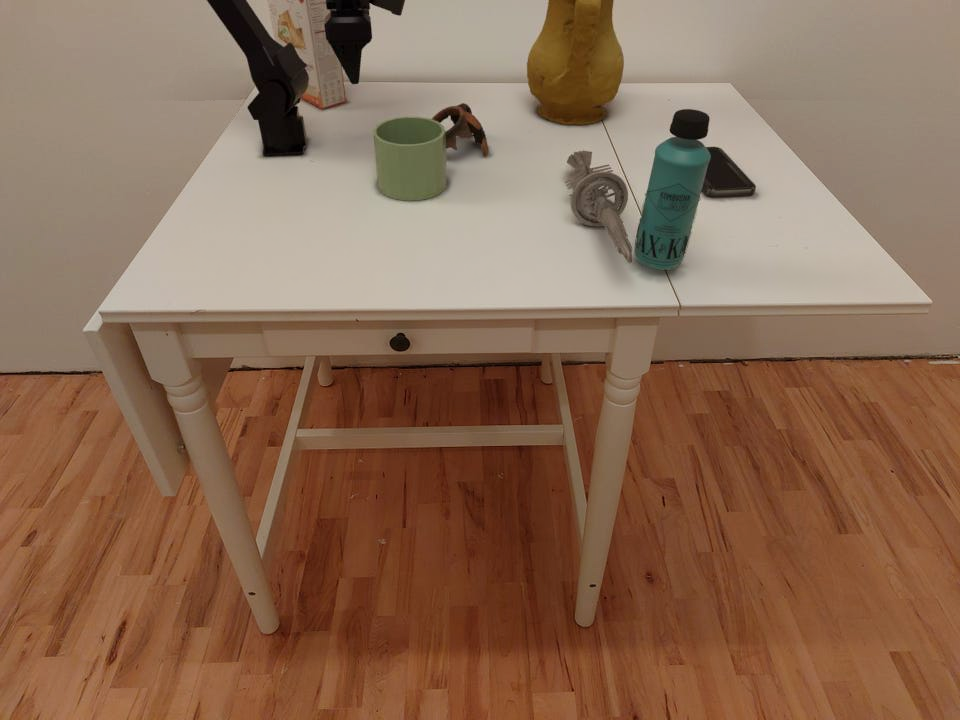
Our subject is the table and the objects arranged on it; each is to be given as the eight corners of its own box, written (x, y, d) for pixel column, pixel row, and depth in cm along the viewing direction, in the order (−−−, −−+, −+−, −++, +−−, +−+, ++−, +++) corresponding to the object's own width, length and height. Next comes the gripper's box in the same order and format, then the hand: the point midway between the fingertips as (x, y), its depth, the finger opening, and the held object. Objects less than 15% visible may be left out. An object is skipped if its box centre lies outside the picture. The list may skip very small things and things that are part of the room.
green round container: (379, 203, 98) (374, 147, 92) (377, 170, 106) (372, 117, 100) (449, 198, 99) (448, 143, 93) (442, 167, 107) (441, 114, 101)
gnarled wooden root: (491, 167, 108) (467, 128, 102) (441, 185, 112) (415, 148, 106) (495, 120, 115) (473, 81, 109) (448, 139, 119) (424, 102, 113)
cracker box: (281, 90, 131) (259, -31, 117) (308, 83, 134) (289, -36, 120) (320, 110, 123) (302, -16, 109) (347, 103, 126) (333, -22, 113)
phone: (709, 191, 99) (674, 148, 110) (707, 197, 100) (673, 154, 111) (759, 188, 100) (720, 146, 111) (757, 195, 101) (718, 152, 112)
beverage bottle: (625, 253, 88) (653, 102, 75) (673, 251, 89) (710, 101, 76) (638, 281, 84) (670, 125, 70) (689, 279, 84) (731, 124, 71)
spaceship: (589, 242, 75) (657, 216, 74) (544, 143, 104) (593, 123, 102) (607, 298, 80) (672, 274, 79) (560, 188, 108) (607, 170, 107)
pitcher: (633, 104, 127) (651, -46, 109) (590, 144, 115) (603, -17, 98) (553, 89, 134) (558, -55, 117) (506, 124, 123) (503, -29, 105)
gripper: (405, -31, 85) (412, 93, 95) (397, -59, 99) (404, 51, 109) (316, -29, 84) (333, 96, 94) (321, -58, 97) (335, 54, 108)
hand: (354, 73), depth 101 cm, fingers open, 9 cm apart
